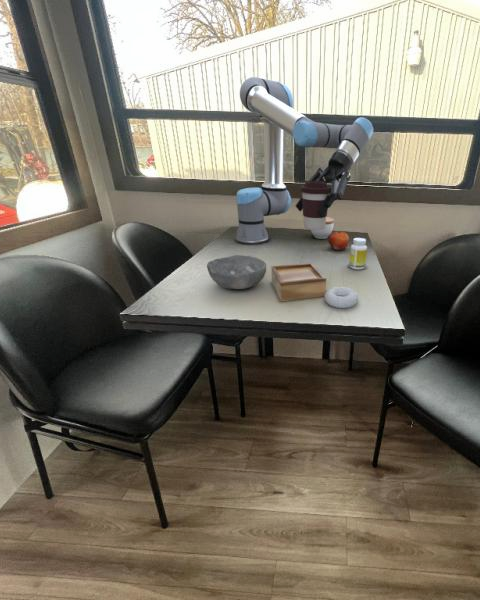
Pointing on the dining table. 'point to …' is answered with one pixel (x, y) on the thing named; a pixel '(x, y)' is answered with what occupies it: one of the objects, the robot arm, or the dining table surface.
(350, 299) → the donut
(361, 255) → the pill bottle
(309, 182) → the coffee cup
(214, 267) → the bowl
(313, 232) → the lidded bowl
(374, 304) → the dining table surface
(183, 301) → the dining table surface
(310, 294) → the wooden box
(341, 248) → the tomato
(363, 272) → the dining table surface
